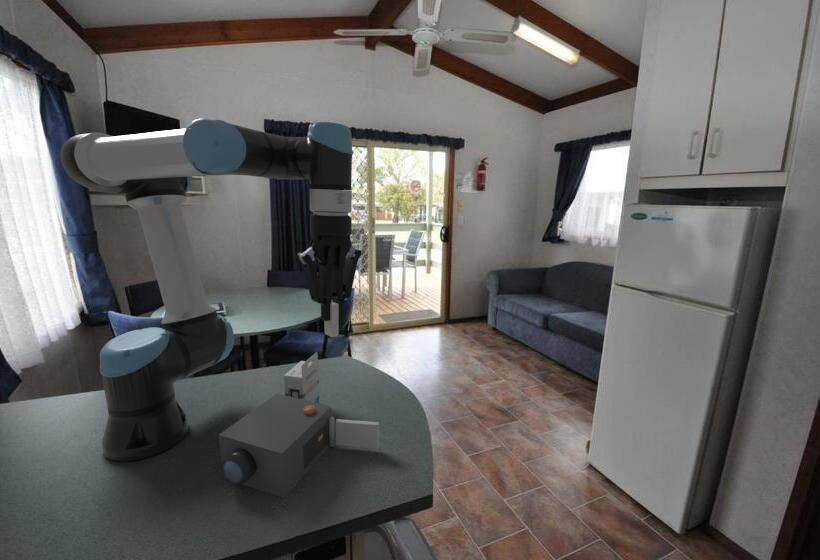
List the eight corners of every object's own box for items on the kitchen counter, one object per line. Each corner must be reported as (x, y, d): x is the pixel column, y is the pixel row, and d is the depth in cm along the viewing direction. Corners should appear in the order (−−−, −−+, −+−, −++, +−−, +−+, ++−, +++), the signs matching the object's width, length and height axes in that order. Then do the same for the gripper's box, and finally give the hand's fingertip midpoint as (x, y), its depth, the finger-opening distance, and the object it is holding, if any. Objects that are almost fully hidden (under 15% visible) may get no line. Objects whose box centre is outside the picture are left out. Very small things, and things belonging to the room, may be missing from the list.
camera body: (210, 487, 67) (205, 439, 65) (278, 429, 85) (276, 390, 82) (279, 511, 62) (276, 461, 60) (337, 445, 80) (336, 403, 78)
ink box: (302, 401, 96) (300, 348, 93) (320, 404, 95) (318, 350, 92) (285, 420, 88) (282, 363, 85) (304, 423, 87) (302, 365, 84)
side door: (335, 445, 78) (335, 421, 77) (338, 440, 80) (337, 417, 79) (377, 448, 77) (378, 425, 76) (379, 443, 79) (379, 420, 78)
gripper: (309, 215, 61) (311, 348, 66) (371, 215, 70) (369, 332, 75) (288, 212, 66) (291, 336, 71) (348, 212, 75) (347, 322, 80)
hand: (331, 334), depth 73 cm, fingers closed
